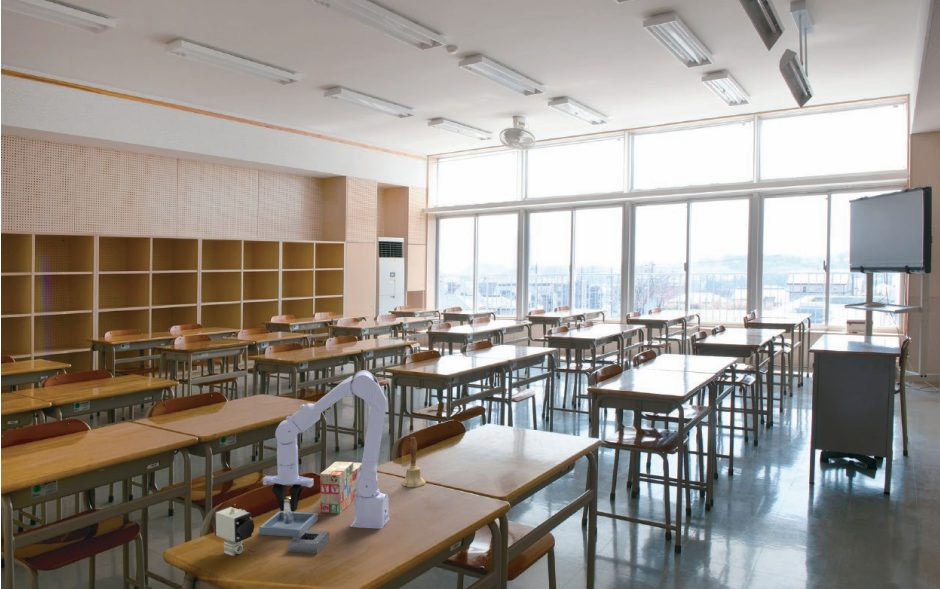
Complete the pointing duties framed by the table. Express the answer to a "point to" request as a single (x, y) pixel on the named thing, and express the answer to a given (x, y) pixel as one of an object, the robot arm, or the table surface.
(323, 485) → the stack of blocks
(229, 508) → the pneumatic valve
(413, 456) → the hand bell
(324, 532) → the block
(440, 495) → the table surface
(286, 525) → the tray
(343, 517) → the table surface
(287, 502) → the small glass bottle
